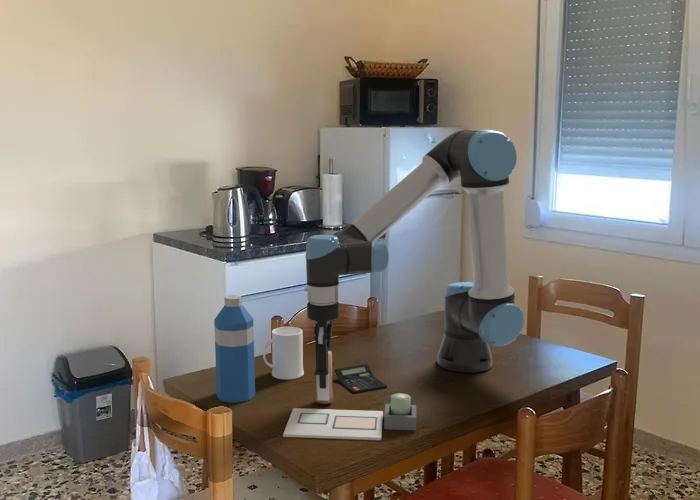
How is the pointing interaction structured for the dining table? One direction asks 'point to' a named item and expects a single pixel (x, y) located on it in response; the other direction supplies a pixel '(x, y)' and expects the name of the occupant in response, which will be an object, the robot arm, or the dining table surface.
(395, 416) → the button housing
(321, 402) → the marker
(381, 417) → the picture sheet
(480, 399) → the dining table surface
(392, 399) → the button
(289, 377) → the mug
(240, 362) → the water bottle
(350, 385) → the calculator
